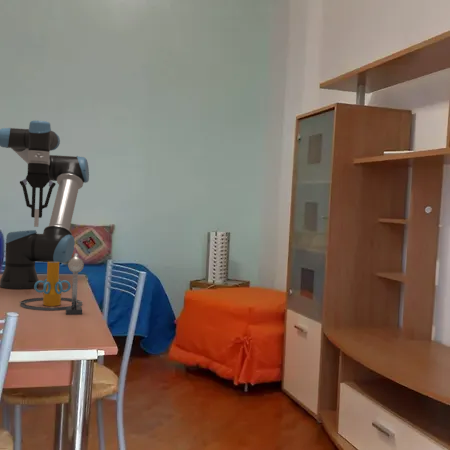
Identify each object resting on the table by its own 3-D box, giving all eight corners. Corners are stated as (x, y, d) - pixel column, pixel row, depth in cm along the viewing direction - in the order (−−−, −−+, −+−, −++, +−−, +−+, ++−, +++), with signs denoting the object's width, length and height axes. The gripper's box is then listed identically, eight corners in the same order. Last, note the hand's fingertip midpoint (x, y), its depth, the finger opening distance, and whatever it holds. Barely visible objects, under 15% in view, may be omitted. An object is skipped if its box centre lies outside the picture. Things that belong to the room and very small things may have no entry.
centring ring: (20, 299, 205) (20, 296, 205) (81, 299, 212) (81, 296, 212) (17, 311, 185) (17, 307, 185) (85, 310, 192) (85, 307, 192)
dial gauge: (65, 309, 191) (67, 251, 191) (80, 309, 193) (82, 252, 192) (66, 314, 183) (68, 254, 182) (82, 314, 185) (84, 254, 184)
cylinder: (57, 309, 191) (59, 264, 191) (29, 306, 193) (30, 262, 193) (73, 303, 203) (75, 261, 203) (46, 301, 205) (48, 259, 205)
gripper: (19, 161, 204) (17, 226, 205) (57, 163, 208) (54, 227, 209) (20, 162, 212) (18, 225, 212) (56, 164, 216) (54, 226, 216)
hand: (36, 226), depth 211 cm, fingers closed
